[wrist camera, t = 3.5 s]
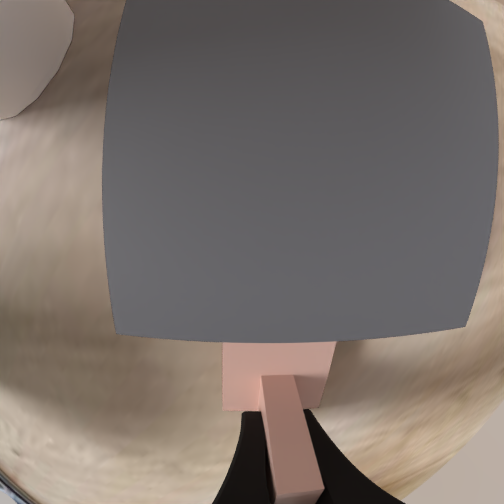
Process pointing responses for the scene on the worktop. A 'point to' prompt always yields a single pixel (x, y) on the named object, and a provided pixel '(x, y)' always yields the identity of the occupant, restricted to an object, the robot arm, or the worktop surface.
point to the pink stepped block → (281, 408)
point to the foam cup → (30, 49)
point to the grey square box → (297, 169)
